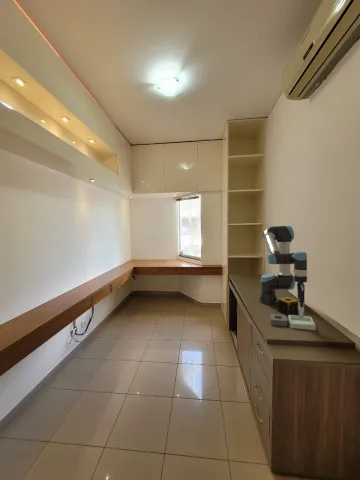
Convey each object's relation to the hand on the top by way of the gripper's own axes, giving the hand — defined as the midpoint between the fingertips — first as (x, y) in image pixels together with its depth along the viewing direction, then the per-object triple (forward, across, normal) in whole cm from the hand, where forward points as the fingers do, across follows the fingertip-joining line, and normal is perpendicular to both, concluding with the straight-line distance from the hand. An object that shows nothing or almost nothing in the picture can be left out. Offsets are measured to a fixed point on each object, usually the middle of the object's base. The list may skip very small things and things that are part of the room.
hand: (301, 310), depth 150 cm
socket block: (+9, 0, -14) cm, 17 cm away
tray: (+9, 0, 0) cm, 9 cm away
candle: (+10, -20, -6) cm, 23 cm away
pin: (+5, 0, 0) cm, 5 cm away
